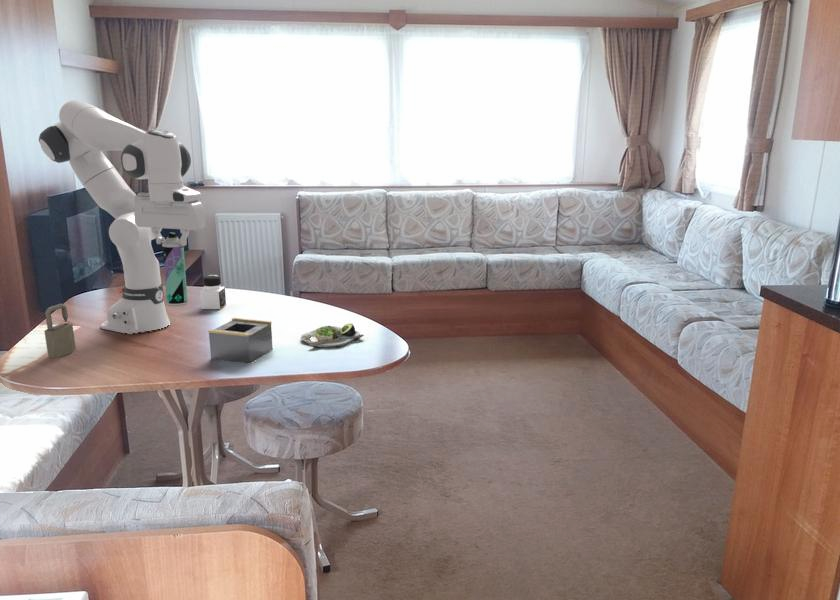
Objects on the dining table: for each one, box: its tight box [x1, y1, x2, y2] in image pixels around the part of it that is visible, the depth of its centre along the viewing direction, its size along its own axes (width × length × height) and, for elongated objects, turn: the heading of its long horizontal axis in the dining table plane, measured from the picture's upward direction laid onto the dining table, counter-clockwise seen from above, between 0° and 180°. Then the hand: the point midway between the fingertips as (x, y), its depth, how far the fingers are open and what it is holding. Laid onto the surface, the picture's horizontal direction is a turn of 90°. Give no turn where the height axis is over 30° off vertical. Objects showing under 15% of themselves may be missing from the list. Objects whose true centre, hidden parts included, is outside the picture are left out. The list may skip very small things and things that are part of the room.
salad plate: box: [300, 323, 365, 348], centre depth 211 cm, size 19×18×5 cm
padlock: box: [44, 303, 77, 359], centre depth 198 cm, size 4×8×15 cm, turn 163°
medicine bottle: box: [199, 274, 227, 311], centre depth 247 cm, size 7×7×12 cm
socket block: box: [207, 317, 274, 365], centre depth 198 cm, size 13×13×9 cm
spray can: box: [161, 231, 189, 307], centre depth 183 cm, size 6×6×20 cm
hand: (171, 244), depth 181 cm, fingers closed on spray can, 5 cm apart
